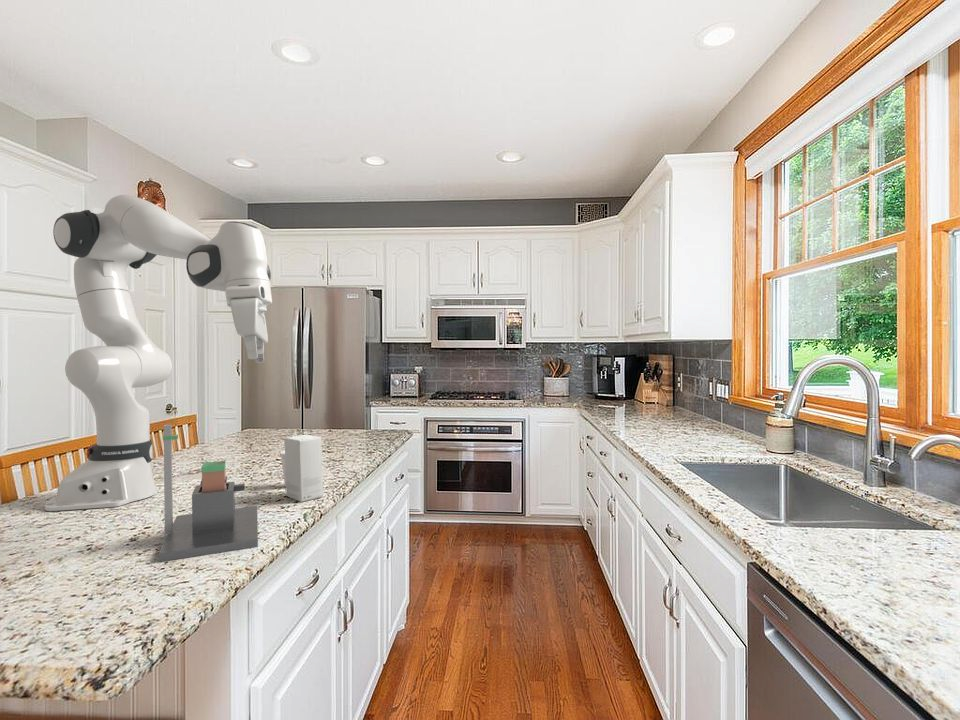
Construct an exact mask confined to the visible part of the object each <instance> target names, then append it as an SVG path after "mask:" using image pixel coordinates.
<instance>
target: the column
mask: <svg viewBox="0 0 960 720" xmlns="http://www.w3.org/2000/svg"><path fill="white" fill-rule="evenodd" d="M226 467H227V461H226V460H219V461H206V462H203V463H202V465H201V481H200V485H202V490H201V492H210V491H220V490H227V486H226V482H227V481H228V475H227V474H226V473H227V468H226Z"/></svg>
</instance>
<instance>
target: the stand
mask: <svg viewBox="0 0 960 720" xmlns="http://www.w3.org/2000/svg"><path fill="white" fill-rule="evenodd" d="M172 427H173V425H172V424H164V425H163V428H162V429H163V436H162V441H163V489H164V490H163V491H164V492H163V494H164V499H163V501H164V502H163V503H164V535H167V536H166V538H165V541H164V542H163V545H162V546H161V548H160V550H159V552H158V563H161V561H163V562H168V560H169V561H174V559H175V560H181V559H180V558H182V559H187V557H188V558H193V557H200V555H201V556H206V554H207V555H213V554H212V553H214V554H218V553H217V552H220V553H224V552H223V551H226V552H230V551H229V550H233V551H237V549H239V550H244V549H243V548H245V549H250V547H252V548H257V547H259V535H258V530H259V529H258V528H259V527H258V505H252V506H245V507H244V506H243V507H237V508H236V505H235V504H236V502H235V501H236V499H235V497H236V495H235V494H236V493H235V492H241V491H243V492H244V491H245V486H246V485H245V483H239V484H237V483H236V484H235V481H228V482H226V486H227V490H220V491H210V492H201V490H202V485H199V484H196V485H195V487H194V489H193V491H192V494H191V513H188V514H182V515H181V514H179V515H176V517H175V519H174V518H173V516H174V515H173V512H174V511H173V508H174V507H173V503H174V502H173V500H174V499H173V449H172V448H173V440H178V439H179V435H178V434H173V430H172V429H173V428H172Z"/></svg>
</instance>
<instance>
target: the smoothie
mask: <svg viewBox="0 0 960 720" xmlns="http://www.w3.org/2000/svg"><path fill="white" fill-rule="evenodd" d="M294 436H295V435H291V437H294ZM279 457H280V458H281V459H280V460H281V467H282V473H283V481H284V487H285V488H286V465H285V450H282V451H280V452H279Z"/></svg>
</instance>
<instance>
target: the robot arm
mask: <svg viewBox="0 0 960 720" xmlns="http://www.w3.org/2000/svg"><path fill="white" fill-rule="evenodd" d="M52 231H53V232H52V233H53V240H54V243H55V245H56V246H57V247H58V249H59V250H60V251H61V252H62V253H63V254H66V255H68V256H71V257H75V258H77V259H76V260H75V261H74V264H73V281H74V289H75V294H76V297H77V299H76V300H77V303H78V306H79V310H80V314H81V317H82V322H83V325H84V327H85V328H86V330H87V331H89V333H92V334H93V335H95V336H96V337H98V338H99V339H100V340H101V341H102V342H103V343H104V344H105V345H97V346H91V347H87V348H81V349H77V350H75V351H73V352H72V353H70V355H69V356H68V358H67V359H66V363H65V366H64V372H65V376H66V378H67V380H68V381H69V383H70V384H71V385H72V386H73V387H75V388H77V389H79V390H80V392H82V393H83V394H84V395H85V396H86V398H87V399H88V401H89V403H90V404H91V407H92V409H93V411H94V416H95V427H96V442H95V443H93V444H91V445H89V447H88V448H87V449H86V450H85V451H86V453H85V455H86V458H87V459H88V460H86V461H84V463H81V465H79V466H78V467H76V468H75V469H74V470H72V471H70V472H69V473H68V474H66V476H64V477H63V478H62V480H61V481H60V482H59V484H58V487H57V492H56V496H54V497H52V498H51V499H49V500H48V501H47V502H46V503H45V504H44V510H45V511H46V512H58V511H71V510H86V509H98V508H99V509H101V508H103V509H104V508H115V507H121V506H124V505H126V504H129V503H132V502H136V501H139V500H144V499H147V498H149V497H153V496H154V495H157V493H158V492H159V490H158V487H157V485H156V482H155V478H154V473H153V468H152V465H153V464H152V460H153V458H154V457H153V455H154V453H153V448H154V447H153V446H154V445H153V440H152V439H151V435H150V434H151V432H150V431H151V430H150V429H151V425H150V423H151V422H150V420H151V419H150V417H151V416H150V411H149V409H148V408H147V407H146V406H145V405H142V404H140V403H139V402H138V401H137V400H136V398H135V395H134V392H133V389H136V388H146V387H151V386H154V385H158V384H160V383H163V382H164V381H166V380H168V378H169V377H170V375H171V373H172V370H173V364H172V359H171V357H170V356H169V354H168V353H167V352H166V351H165V350H162V349H161V348H160V347H158V346H157V345H156V344H155V343H154V342H153V341H152V339H151V338H150V337H149V336H148V334H147V333H146V331H145V330H144V328H143V326H142V325H141V323H140V321H139V319H138V316H137V315H138V314H137V312H136V309H135V306H134V302H133V298H132V295H131V292H130V288H129V285H128V282H127V278H126V270H127V269H128V267H131V268H132V269H133V270H137V269H140V268H141V267H142V265H144V264H147V263H150V262H151V261H152V260H153V259H154V258H156V256H162V257H168V258H174V259H179V260H180V259H181V260H186V266H185V267H186V272H187V275H188V278H189V280H190V281H191V282H192V283H193V284H194V285H195V286H196V287H199V288H202V289H206V290H212V291H220V292H225V298H226V299H225V300H226V306H227V307H229V308H230V311H231V313H232V319H233V325H234V328H235V332H236V333H237V334H238V335H239V336H241V338H243V341H244V345H245V346H244V347H245V349H246V354H247V359H248V360H254V362H255V363H257V364H261V363H264V362H265V356H264V355H265V354H264V353H265V344H268V343H269V334H268V329H267V326H268V325H267V319H266V315H265V313H267V311H268V309H267V308H268V307H269V306H271V305H273V297H272V296H273V295H272V288H271V278H272V275H271V274H272V272H271V269H270V266H269V264H268V262H269V261H268V254H267V248H266V243H265V237H264V236H263V233H262V231H261V229H260V228H259V227H257V226H256V225H253V224H250V223H247V222H241V221H226V222H224V223H222V224H221V225H220V227H219V230H218V232H217V233H216V235H215V236H214V237H212V238H210V236H209V237H208V236H207V235H205V234H204V233H202V232H200V231H199V230H197V229H196V228H194V227H192V226H190V225H189V224H187V223H186V222H184V221H183V220H181V219H180V218H178V217H177V216H175V215H173V214H171V213H170V212H168V211H167V210H165V209H164V208H162V207H160V206H158V205H157V204H155V203H153V202H150V201H148V200H146V199H143V198H142V197H138V196H134V195H130V194H119V195H116V196H114V197H112V198H110V200H108V201H107V203H106V204H105V206H104V210H103V212H100V213H95V212H92V211H91V210H89V209H84V210H81V211H74V212H66V213H63V214H62V215H60V216H59V217H58V218H57V219H56V220H55V222H54V225H53V230H52Z"/></svg>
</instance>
